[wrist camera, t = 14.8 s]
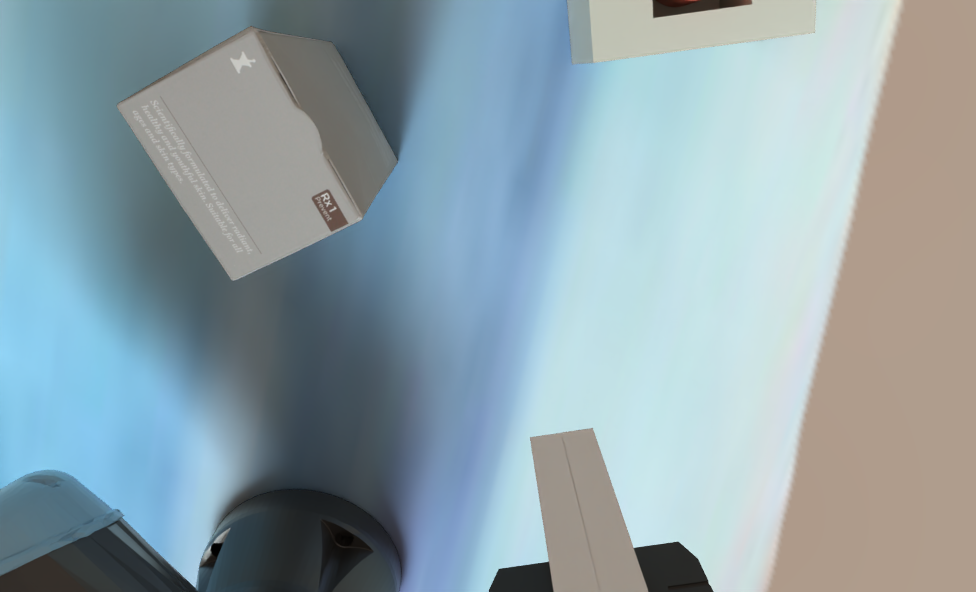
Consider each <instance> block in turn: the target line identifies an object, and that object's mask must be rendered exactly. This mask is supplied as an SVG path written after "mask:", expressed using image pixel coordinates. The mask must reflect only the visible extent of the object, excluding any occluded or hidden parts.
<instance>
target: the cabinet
mask: <svg viewBox="0 0 976 592" xmlns="http://www.w3.org/2000/svg"><path fill="white" fill-rule="evenodd" d="M567 7H568V19H569V32H570V44H571V57H572V64H585V63H596V62H603V61H611V60H618V59H626V58H633V57H640V56H648V55H655V54H663V53H670V52H677V51H685V50H692V49H699V48H707V47H714V46H722V45H729V44H736V43H744V42H751V41H758V40H766V39H773V38H781V37H788V36H795V35H803V34H810V33H815V18H816V0H700V1H697V2H694V3H691V4H689V5H686V6H682V7H669V6H665V5H663V4H661V3H659V2H658V1H656V0H567Z"/></svg>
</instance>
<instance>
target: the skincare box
mask: <svg viewBox="0 0 976 592" xmlns="http://www.w3.org/2000/svg"><path fill="white" fill-rule="evenodd" d="M117 108H118V110H119V111H120V113H121V114H122V116H123V117H124V119H125V120H126V121H127V123H128V124H129V126H130V128H131V129H132V131H133V132H134V134H135V136H136V137H137V139H138V140H139V142H140V143H141V145H142V146H143V148H144V149H145V151H146V152H147V154H148V156H149V157H150V159H151V160H152V162H153V163H154V165H155V166H156V168H157V169H158V171H159V172H160V174H161V176H162V177H163V179H164V180H165V182H166V183H167V185H168V186H169V188H170V189H171V191H172V192H173V194H174V195H175V197H176V199H177V200H178V202H179V203H180V205H181V206H182V208H183V209H184V211H185V212H186V213H187V215H188V216H189V218H190V219H191V221H192V222H193V224H194V225H195V227H196V228H197V230H198V231H199V233H200V234H201V236H202V237H203V239H204V240H205V242H206V243H207V244H208V246H209V247H210V249H211V250H212V252H213V253H214V255H215V256H216V258H217V259H218V261H219V262H220V264H221V265H222V267H223V268H224V270H225V271H226V272H227V274H228V275H229V277H230V279H231V280H237V279H240V278H242V277H244V276H246V275H248V274H250V273H253V272H255V271H257V270H259V269H261V268H263V267H265V266H268V265H270V264H272V263H274V262H276V261H278V260H280V259H282V258H284V257H287V256H289V255H291V254H293V253H295V252H297V251H299V250H301V249H303V248H305V247H307V246H310V245H312V244H314V243H316V242H318V241H320V240H322V239H324V238H326V237H328V236H330V235H332V234H334V233H336V232H338V231H340V230H342V229H344V228H347V227H349V226H351V225H353V224H355V223H357V222H359V221H361V220H362V219H363V217H364V215H365V213H366V212H367V210H368V208H369V207H370V205H371V203H372V202H373V200H374V198H375V196H376V195H377V194H378V192H379V190H380V189H381V188H382V186H383V184H384V183H385V181H386V180H387V178H388V177H389V175H390V174H391V172H392V171H393V169H394V167H395V166H396V164H397V163H398V161H397V159H396V157H395V155H394V153H393V151H392V149H391V147H390V146H389V144H388V142H387V140H386V138H385V136H384V134H383V133H382V131H381V129H380V127H379V125H378V123H377V122H376V120H375V118H374V116H373V114H372V112H371V111H370V109H369V107H368V105H367V103H366V101H365V100H364V98H363V96H362V94H361V92H360V90H359V89H358V87H357V85H356V83H355V81H354V79H353V78H352V76H351V74H350V72H349V70H348V69H347V67H346V65H345V63H344V61H343V59H342V58H341V56H340V54H339V52H338V51H337V49H336V47H335V45H334V44H333V43H332V42H328V41H323V40H317V39H311V38H305V37H299V36H293V35H287V34H281V33H276V32H270V31H266V30H262V29H258V28H255V27H252V26H250V27H248V28H246V29H245V30H243V31H241V32H239V33H238V34H236V35H234V36H232V37H231V38H229V39H227V40H225V41H223V42H222V43H220V44H218V45H217V46H215V47H213V48H211V49H210V50H208V51H206V52H204V53H203V54H201V55H199V56H198V57H196V58H194V59H192V60H191V61H189V62H187V63H186V64H184V65H182V66H180V67H179V68H177V69H175V70H174V71H172V72H170V73H169V74H167V75H165V76H164V77H162V78H160V79H158V80H157V81H155V82H153V83H152V84H150V85H148V86H147V87H145V88H143V89H142V90H140V91H138V92H137V93H135V94H133V95H131V96H130V97H128V98H126V99H125V100H123V101H121V102H120V103H118V104H117Z"/></svg>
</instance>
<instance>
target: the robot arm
mask: <svg viewBox="0 0 976 592" xmlns="http://www.w3.org/2000/svg"><path fill="white" fill-rule="evenodd" d="M530 441H531V447H532V454H533V460H534V467H535V473H536V480H537V486H538V493H539V499H540V506H541V512H542V519H543V525H544V532H545V538H546V545H547V551H548V558H549V562H544V563H537V564H530V565H523V566H516V567H509V568H502V569H499V570H498V572H497V574H496V576H495V578H494V581H493V583H492V585H491V587H490V589H489V592H713V590H712V588H711V586H710V585H709V583H708V579H707V577H706V575H705V573H704V571H703V569H702V567H701V565H700V562H699V560H698V559H697V558H696V557H695V556H694V555H693V554H692V553H691V552H689V551H688V550H687V549H686V548H685V547H684V546H683V545H682V544H680V543H679V542H673V543H666V544H658V545H651V546H644V547H637V548H633V545H632V542H631V539H630V536H629V533H628V530H627V527H626V524H625V521H624V519H623V516H622V513H621V510H620V507H619V504H618V501H617V498H616V495H615V492H614V489H613V486H612V483H611V480H610V477H609V475H608V472H607V469H606V466H605V463H604V460H603V457H602V454H601V451H600V448H599V445H598V442H597V439H596V436H595V433H594V431H593V428H590V429H583V430H576V431H570V432H563V433H556V434H550V435H543V436H536V437H530ZM123 516H124V515H123V514H122V512H121V511H119V510H118V509H112V508H110V507H109V506H108V505H107V504H106V503H104V502H103V501H102V500H101V499H100V498H98V497H97V496H96V495H95V494H93V493H92V492H91V491H90V490H89V489H87V488H86V487H85V486H84V485H82V484H81V483H80V482H79V481H78V480H77V479H76V478H74V477H73V476H71V475H69V474H67V473H65V472H61V471H56V470H42V471H36V472H33V473H30V474H27V475H25V476H23V477H21V478H19V479H17V480H15V481H13V482H12V483H10V484H8V485H7V486H5V487H3V488H2V489H0V592H399V589H400V583H401V566H400V560H399V557H398V554H397V551H396V548H395V546H394V544H393V542H392V540H391V539H390V537H389V536H388V534H387V533H386V532H385V530H384V529H383V528H382V527H381V526H380V524H379V523H378V522H377V521H376V520H374V519H373V518H372V517H371V516H370V515H369V514H367V513H366V512H365V511H363V510H362V509H360V508H359V507H357V506H355V505H353V504H352V503H350V502H348V501H345V500H343V499H341V498H338V497H336V496H332V495H329V494H326V493H322V492H316V491H310V490H280V491H274V492H269V493H265V494H262V495H259V496H256V497H254V498H252V499H249V500H247V501H246V502H244V503H242V504H241V505H239V506H238V507H236V508H235V509H234V510H232V511H231V512H230V513H229V514H228V515H227V516H226V517H225V518H224V519H223V521H222V522H221V523H220V525H219V527H218V528H217V530H216V531H215V533H214V535H213V536H212V538H211V540H210V541H209V543H208V545H207V547H206V549H205V551H204V553H203V556H202V558H201V562H200V565H199V571H198V577H197V584H196V588H195V587H194V586H193V585H191V584H190V583H189V582H188V581H187V580H186V579H185V578H184V577H183V576H182V575H181V574H180V573H179V572H178V571H177V570H176V569H175V568H173V567H172V566H171V565H170V564H169V563H168V562H167V561H166V560H165V559H164V558H163V557H162V556H161V555H160V554H159V553H158V552H156V551H155V550H154V549H153V548H152V547H151V546H150V545H149V544H148V543H147V542H146V541H145V540H144V539H143V538H142V537H141V536H140V535H139V534H138V533H137V532H136V531H135V530H134V529H133V528H132V527H131V526H130V525H129V524H128V523H127V522H126V521H125V520H124V519H123V518H122V517H123Z"/></svg>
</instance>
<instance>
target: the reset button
mask: <svg viewBox="0 0 976 592" xmlns="http://www.w3.org/2000/svg"><path fill="white" fill-rule="evenodd" d="M656 1H658V2H659V3H661V4H663V5H665V6H669V7H682V6H686V5H689V4H691V3H694V2H697V1H700V0H656Z"/></svg>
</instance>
